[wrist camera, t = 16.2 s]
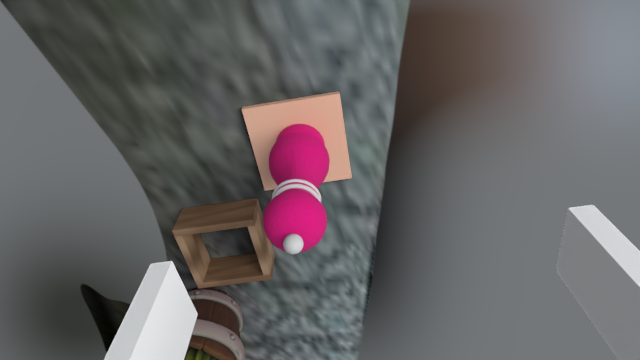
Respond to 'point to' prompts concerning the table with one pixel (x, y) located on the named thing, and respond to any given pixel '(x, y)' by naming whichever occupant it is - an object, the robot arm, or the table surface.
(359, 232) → the table surface
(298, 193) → the pepper mill
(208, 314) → the flowerpot
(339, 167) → the plate
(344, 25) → the table surface
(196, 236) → the wooden box
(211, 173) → the table surface
